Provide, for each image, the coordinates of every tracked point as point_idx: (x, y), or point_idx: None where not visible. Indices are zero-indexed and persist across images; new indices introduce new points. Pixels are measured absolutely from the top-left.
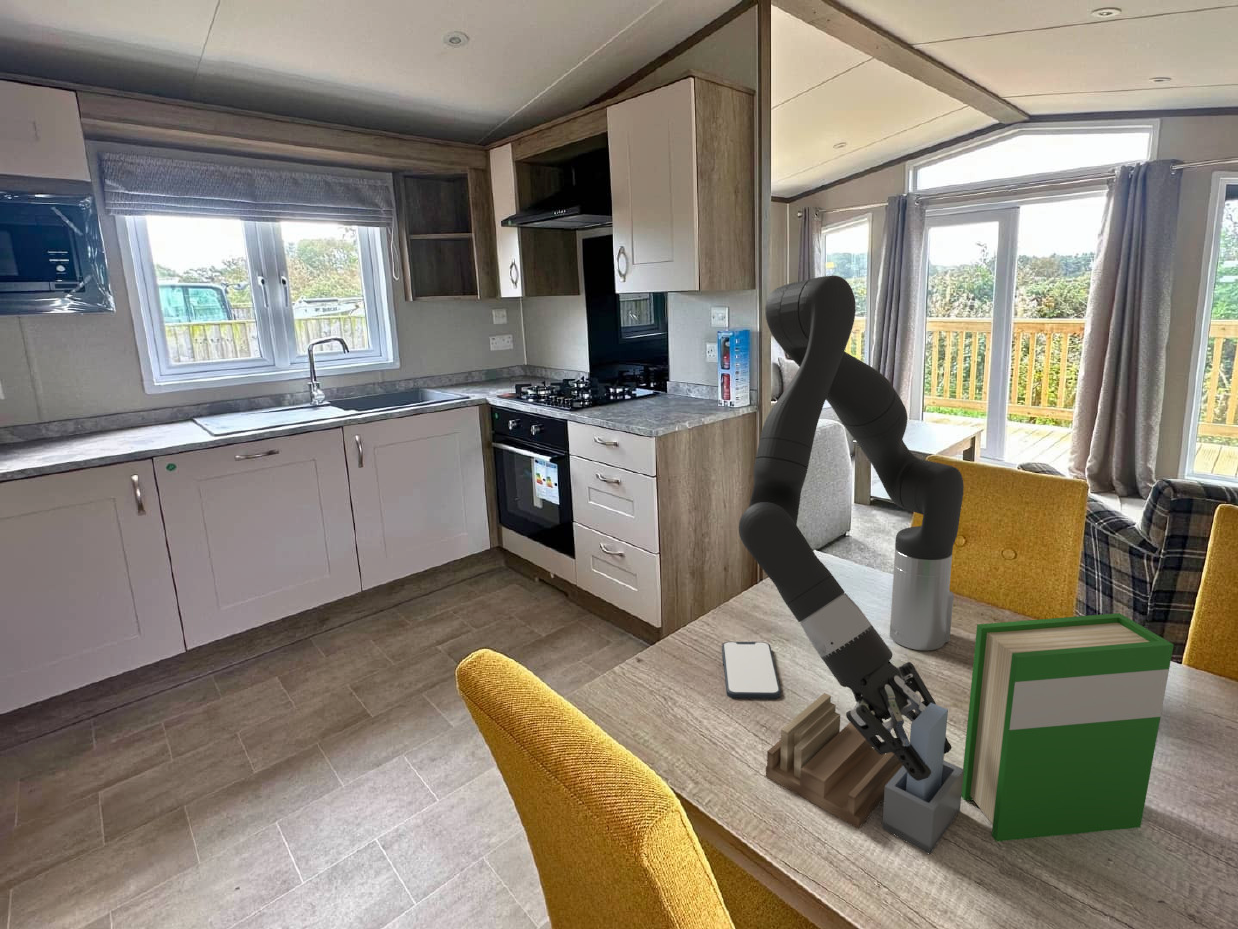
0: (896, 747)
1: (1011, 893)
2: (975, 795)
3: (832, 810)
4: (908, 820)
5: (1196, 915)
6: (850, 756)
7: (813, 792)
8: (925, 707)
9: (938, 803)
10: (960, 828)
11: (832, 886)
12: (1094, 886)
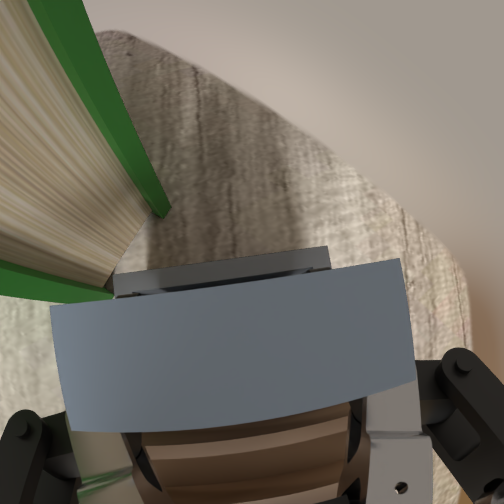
0: (461, 351)
1: (261, 147)
2: (104, 272)
3: None
4: None
5: (126, 36)
6: (255, 498)
7: None
8: (79, 445)
9: (294, 250)
10: None
11: (455, 321)
12: (157, 92)
